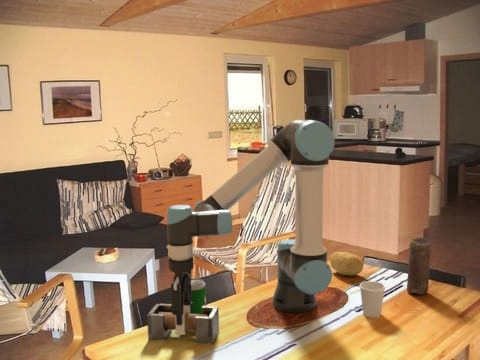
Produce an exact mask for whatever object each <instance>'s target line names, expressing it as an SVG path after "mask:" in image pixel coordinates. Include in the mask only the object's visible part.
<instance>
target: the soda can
mask: <svg viewBox="0 0 480 360" xmlns="http://www.w3.org/2000/svg"><path fill="white" fill-rule="evenodd" d="M206 286H207V284H206V282H205V281H204V280H203V279H201V278H191V290H192V300H190V301H192V302H193V304H192V305H190V314H202V306H207V287H206Z"/></svg>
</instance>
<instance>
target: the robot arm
mask: <svg viewBox="0 0 480 360" xmlns="http://www.w3.org/2000/svg"><path fill="white" fill-rule="evenodd" d="M335 143H336V142H335V135H334V133H333V131H332V129H331V128H329V126H328V125H326V124H325V123H324V122H322V121H319V120H316V119H315V120H314V119H302V118H300V119H294V120H291V122H289V123H287V124H286V125H285V126H283V128H281V129H280V130H279V131H278V132H277V133H276V134H275V135H273V137H271V138H270V139H269V140H268V141H267V146H266V147H264V148H263V149H262V150H261V151H260V152H259V153H258V154H256V155H255V156H253V158H251V160H250V161H249V162H247V163H246V164H245V165H244V166H243V167H241V168H240V169H239V170H238V171H237V172H236V173H234V174H233V175H232V176H230V178H228V179H227V180H226V181H225V182H224V183H223V184H221V186H220V187H218V188H217V189H216V190H215V191H214V192H213V193H212V194H210V195H209V196H208V197H207V198H205V199H202V200H199V201H198V202H196V203H195V205H194V207H193V208H192V206H191V205H187V204H176V205H175V204H174V205H171V206H170V207H168V208H167V210H166V234H167V236H166V237H167V238H166V239H167V245H166V249H167V255H168V259H167V261H168V262H167V263H168V270H169V271H170V272H172V273H173V274H174V276H173V281H172V282H173V283H171V284H170V289H171V304H172V314H173V315H175V322H176V330H175V334H176V335H186V330H185V313H188V314H190V305H192V304H193V302H192V301H190V300H192V290H191V279H192V271H193V270H194V267H195V265H194V257H193V256H194V241H193V238H195V237H197V238H198V237H211V236H224V235H229V234H231V233H232V231H233V215H232V212H231V211H230V209H231V208H232V207H233V206H235V205H236V204H237V203H239V202H240V201H241V200H242V199H243V198H244V197H245V196H246V195H248V194H249V193H250V192H251V191H252V190H254V189H255V187H256V186H258V185H259V184H260V183H261V182H263V181H264V180H265V179H266V178H267V177H268V176H270V175H271V174H272V173H273V172H274V171H276V169H278V168H279V167H280V166H281V165H282V164H288V163H289V162H290V165H291V167H293V168H294V170H295V191H294V192H295V202H294V203H295V205H294V207H295V210H294V211H295V213H294V218H295V219H294V225H295V227H294V235H295V236H294V239H293V238H292V239H285V240H280V241H279V242H278V243H277V247H276V248H277V250H276V252H277V258H276V259H277V284H276V288H275V291H274V293H273V297H272V305H273V304H274V305H273V307H274V306H275V307H277V308H278V309H277V308H276V309H277V310H279V309H280V310H279V311H281V310H282V311H281V312H287V313H292V314H293V313H295V314H297V313H299V314H300V313H306V312H309V311H312V310H314V309H315V308H316V307H317V296H316V295H317V294H319V293H322V292H323V291H325V290H326V288H328V287H329V285H330V284H331V281H332V279H333V271H332V269H331V268H332V267H331V265H329V263H328V248H326V246H324V244H323V225H324V224H323V222H324V220H323V217H324V214H323V213H324V211H323V210H324V209H323V208H324V170H325V168H326V167H328V166H329V164H330V163H329V159H330V157H329V156H330V155H331V153H333V150H334V148H335ZM192 209H193V210H192ZM315 306H316V307H315ZM275 307H274V308H275ZM314 307H315V308H314ZM313 308H314V309H313Z"/></svg>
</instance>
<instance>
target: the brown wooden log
mask: <svg viewBox="0 0 480 360" xmlns="http://www.w3.org/2000/svg"><path fill="white" fill-rule="evenodd" d="M158 314H164V320H165V329H172V330H171V331H173V330H175V331H176V322H175V315H173V314H172V313H170V312H159V313H158ZM196 316H204V317H208V316H207V315H206V314H188V313H185V331H192V332H196V323H195V317H196Z"/></svg>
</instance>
